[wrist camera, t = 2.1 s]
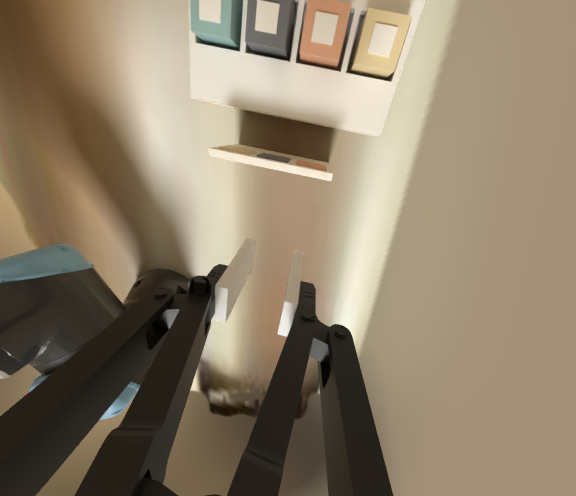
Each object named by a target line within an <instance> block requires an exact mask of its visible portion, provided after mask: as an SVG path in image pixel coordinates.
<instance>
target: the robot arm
mask: <svg viewBox="0 0 576 496" xmlns="http://www.w3.org/2000/svg"><path fill="white" fill-rule="evenodd" d="M255 241H256V240H251V239H246V240H245V242H244V243H243V245H242V246H241V248H240V249H239V251H238V252H237V254H236V255H235V257H234V258H233V260H232V261H231V263H230V264H229V266H226V265H222V264H218V265H217V266H215V267H213V269H212V270H211V271H210V273H209V274H208V276H196V277H193V278H191V279H190V280H188V279H187V278H185V277H184V276H182V275H180V274H178V273H176V272H173V271H169V270H163V269H157V270H152V271H149V272H147V273H145V274H144V275H143V276H142V277H140V278H139V279H138V280H137V281H136V282H135V283H134V285H133V287H132V288H131V290H130V292H129V294H128V296H127V297H126V299H125V301H124V303H123V304H122V302H121V301H120V300H119V299H118V298H117V296H116V295H115V294H114V293H113V291H112V290H111V289H110V288H109V286H108V285H107V284H106V283H105V281H104V280H103V279H102V278H101V276H100V275H99V274H98V273H97V271H96V270H95V269H94V268H93V267H95V266H94V265H93V264H90V263H89V262H88V260H87V259H86V258H85V257H84V256H83V255H82V254H81V253H80V252H79V251H78V249H76V248H75V247H74V246H72V245H69V244H64V243H58V244H53V245H49V246H45V247H42V248H38V249H35V250H31V251H28V252H25V253H21V254H17V255H14V256H10V257H7V258H4V259H0V379H3V378H7V377H9V376H11V375H13V374H14V373H16V372H17V371H19V370H20V369H21V368H23V367H24V366H26V365H28V364H30V365H31V366H33V367H34V368H35V369H36V370H38V371H39V372H40V373H41V376H39V377H38V378H36V379H35V380H34V382H33V384H32V385H31V387H30V389H29V393H28V394H27V395H25V396H24V397H23V398H22V399H21V400H19V401H18V402H17V403H16V404H15V405H13V406H12V407H11V408H10V409H9V410H7V412H5V413H4V414H3V415H1V416H0V496H35V495H36V494H37V493H38V492H39V491H40V489H41V488H42V487H43V486H44V485H45V484H46V483H47V482H48V481H49V479H50V478H51V477H52V476H53V475H54V473H55V472H56V471H57V469H59V467H60V466H61V465H62V464H63V463H64V461H65V460H66V459H67V458H68V456H69V455H70V454H71V453H72V452H73V451H74V449H75V448H76V447H77V446H78V445H79V443H80V442H81V441H82V440H83V439H84V437H85V436H86V435H87V434H88V433H89V431H90V430H91V429H92V428H93V427H94V425H95V424H96V423H97V422H98V421H99V419H107V418H111V417H114V416H116V415H117V414H119V413H121V412H122V411H123V410H124V409H125V408H126V406H127V405H128V404H129V402H130V401H131V400H132V399H133V397H134V396H135V397H134V399H133V401H132V403H131V405H130V407H129V409H128V411H127V413H126V415H125V417H124V419H123V421H122V423H121V424H120V425H119V427H118V428H116V429H114V430H112V431H111V432H110V433H109V435H108V436H107V438H106V439H105V441H104V442H103V444H102V446H101V448H100V450H99V451H98V453H97V455H96V457H95V459H94V461H93V463H92V465H91V466H90V468H89V470H88V472H87V474H86V476H85V477H84V479H83V481H82V483H81V485H80V487H79V488H78V490H77V492H76V494H75V496H178V495H176V494H175V493H174V492H172V491H171V490H170V489H168V488H167V487H166V486H164V485H163V482H164V478H165V473H166V467H167V462H168V458H169V455H170V452H171V449H172V445H173V442H174V439H175V436H176V433H177V429H178V427H179V423H180V420H181V417H182V414H183V411H184V408H185V404H186V401H187V398H188V395H189V392H190V389H191V386H192V383H193V379H194V376H195V373H196V370H197V367H198V364H199V361H200V357H201V354H202V351H203V348H204V345H205V342H206V339H207V335H208V332H209V329H210V326H211V319H212V317H213V315H214V320H215V321H219V322H224V323H226V321H227V319H228V317H229V315H230V313H231V311H232V309H233V306H234V304H235V302H236V300H237V298H238V296H239V294H240V292H241V290H242V288H243V286H244V284H245V282H246V279H247V277H248V275H249V273H250V271H251V269H252V265H253V257H254V249H255ZM303 253H304V251H302V250H297V249H295V250H294V255H293V259H292V264H291V268H290V273H289V277H288V283H287V288H286V293H285V298H284V303H283V308H282V313H281V318H280V324H279V329H278V335H283V336H287V339H286V342H285V344H284V347H283V350H282V352H281V355H280V358H279V360H278V363H277V366H276V369H275V371H274V374H273V377H272V379H271V382H270V385H269V388H268V390H267V393H266V396H265V398H264V401H263V404H262V406H261V409H260V412H259V415H258V417H257V420H256V423H255V425H254V428H253V431H252V434H251V436H250V439H249V442H248V444H247V447H246V449H245V450H244V452H243V455H242V457H241V460H240V462H239V465H238V468H237V470H236V473H235V476H234V478H233V481H232V484H231V486H230V489H229V492H228V494H227V496H278V493H279V488H280V484H281V479H282V474H283V467H284V461H285V457H286V452H287V448H288V444H289V440H290V435H291V431H292V427H293V422H294V418H295V414H296V410H297V405H298V401H299V397H300V393H301V388H302V384H303V380H304V376H305V371H306V367H307V363H308V358H309V356H311V357H312V358H314V359H316V360H318V371H319V383H320V396H321V408H322V419H323V433H324V445H325V456H326V469H327V481H328V494H329V496H393V493H392V489H391V485H390V481H389V477H388V473H387V469H386V466H385V462H384V458H383V454H382V450H381V447H380V443H379V439H378V435H377V431H376V427H375V424H374V419H373V416H372V411H371V408H370V404H369V400H368V396H367V392H366V388H365V384H364V380H363V377H362V373H361V369H360V365H359V361H358V357H357V353H356V349H355V346H354V342H353V338H352V335H351V332H350V331H349V330H348V329H347V328H346V327H344V326H342V325H339V324H334V325H332V326H331V327H329V326H327V325H325V324H323V323H321V322H320V321H319V320H318V319H317V316H316V313H315V303H316V299H315V298H316V295H315V294H316V289H315V287H314V285H313V284H311V283H307V282H302V281H300V280H301V271H302V262H303ZM208 496H220V495H216V494H214V495H208Z"/></svg>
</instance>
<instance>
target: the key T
mask: <svg viewBox="0 0 576 496" xmlns="http://www.w3.org/2000/svg"><path fill="white" fill-rule="evenodd" d="M411 18H412V16H410V15H404V14H399V13H394V12H389V11H384V10H379V9H373V8H368V10H367V12H366V15H365V17H364V19H363V22H362V24H361V27H360V32H359V36H358V40H357V44H356V48H355V52H354V56H353V60H352V64H351V68H350V72H349V73H354V74H359V75H364V76H369V77H374V78H379V79H385V78H387V77H388V76H389V75H390V74H392V73H393V72H394V71H395V68H396V65H397V62H398V59H399V56H400V53H401V49H402V46H403V43H404V40H405V37H406V34H407V31H408V28H409V25H410V22H411Z"/></svg>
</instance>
